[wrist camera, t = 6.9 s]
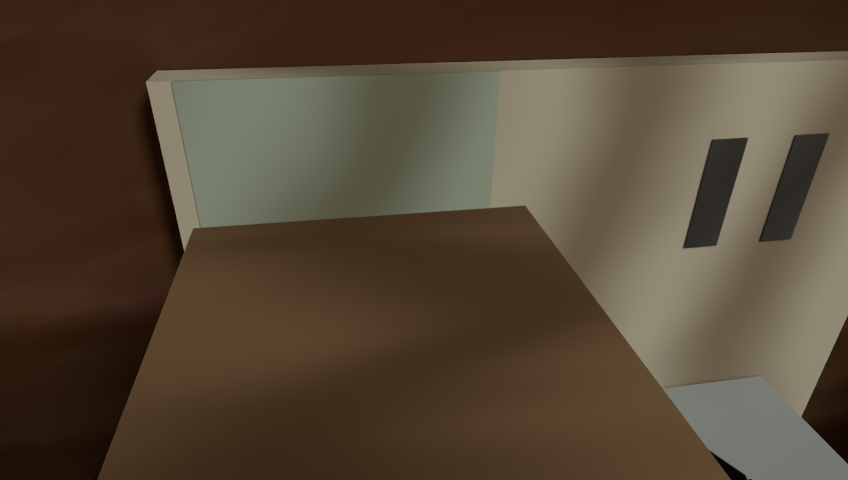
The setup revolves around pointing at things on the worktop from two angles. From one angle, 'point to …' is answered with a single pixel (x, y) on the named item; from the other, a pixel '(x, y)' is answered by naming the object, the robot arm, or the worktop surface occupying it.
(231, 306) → the walnut block
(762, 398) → the grey block
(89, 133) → the worktop surface
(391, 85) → the board
